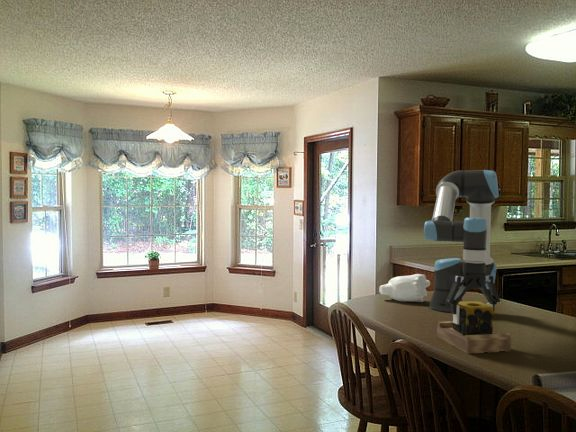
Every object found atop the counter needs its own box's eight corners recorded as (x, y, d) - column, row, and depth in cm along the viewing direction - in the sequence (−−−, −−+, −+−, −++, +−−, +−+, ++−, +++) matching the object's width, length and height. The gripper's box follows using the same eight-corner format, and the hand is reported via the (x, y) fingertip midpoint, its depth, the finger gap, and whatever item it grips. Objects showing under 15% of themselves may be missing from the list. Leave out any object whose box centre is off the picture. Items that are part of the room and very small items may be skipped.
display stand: (476, 334, 185) (476, 320, 185) (510, 351, 166) (511, 334, 166) (437, 336, 182) (437, 321, 182) (467, 353, 163) (467, 336, 162)
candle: (452, 328, 178) (452, 301, 178) (478, 328, 179) (479, 300, 179) (465, 336, 168) (465, 307, 168) (493, 335, 169) (494, 306, 169)
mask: (381, 301, 257) (431, 301, 249) (377, 303, 243) (430, 302, 235) (380, 274, 258) (430, 273, 250) (376, 274, 245) (428, 273, 237)
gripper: (498, 259, 179) (497, 318, 180) (436, 260, 174) (435, 321, 175) (512, 262, 172) (510, 323, 173) (447, 263, 167) (446, 326, 168)
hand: (472, 322), depth 174 cm, fingers open, 12 cm apart
